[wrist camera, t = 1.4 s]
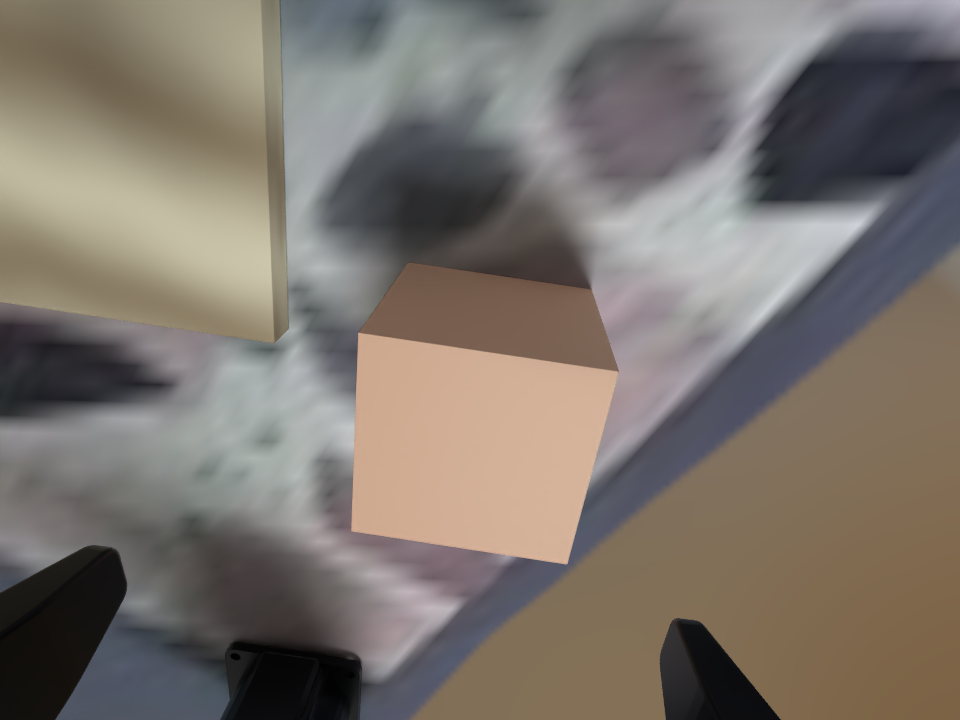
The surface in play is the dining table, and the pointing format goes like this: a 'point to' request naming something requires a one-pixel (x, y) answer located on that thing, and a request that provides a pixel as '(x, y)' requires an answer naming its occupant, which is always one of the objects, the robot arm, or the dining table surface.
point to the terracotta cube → (479, 412)
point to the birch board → (145, 162)
